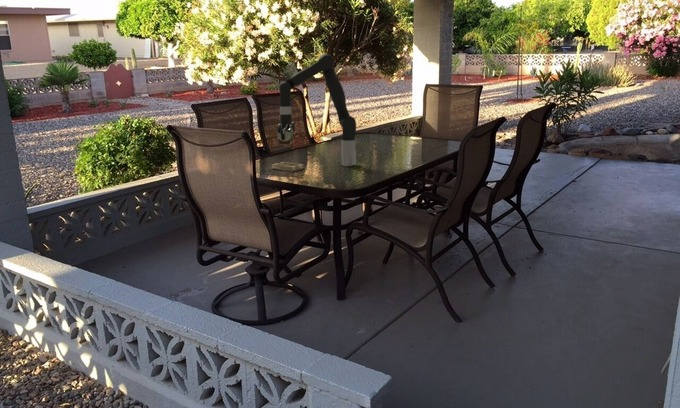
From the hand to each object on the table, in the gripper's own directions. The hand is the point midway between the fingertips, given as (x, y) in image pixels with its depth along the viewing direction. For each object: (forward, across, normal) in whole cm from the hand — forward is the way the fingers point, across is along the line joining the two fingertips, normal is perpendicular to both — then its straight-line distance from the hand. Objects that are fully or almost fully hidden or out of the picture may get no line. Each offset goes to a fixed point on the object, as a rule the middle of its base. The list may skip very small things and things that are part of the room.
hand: (286, 139), depth 384 cm
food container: (+3, 0, 0) cm, 3 cm away
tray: (+20, 0, 0) cm, 20 cm away
